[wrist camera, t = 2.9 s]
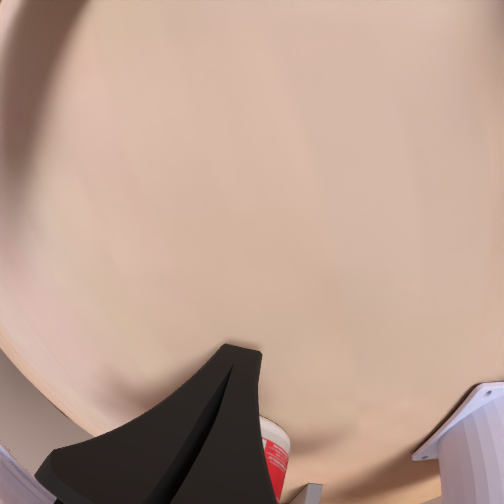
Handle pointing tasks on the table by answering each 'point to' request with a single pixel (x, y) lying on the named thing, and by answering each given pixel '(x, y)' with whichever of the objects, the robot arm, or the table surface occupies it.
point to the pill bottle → (275, 453)
